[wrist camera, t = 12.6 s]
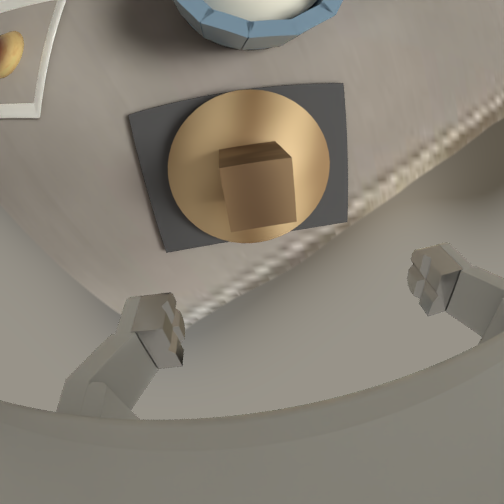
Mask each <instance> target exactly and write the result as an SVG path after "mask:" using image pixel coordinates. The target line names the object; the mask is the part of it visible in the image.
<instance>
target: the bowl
mask: <svg viewBox="0 0 504 504" xmlns="http://www.w3.org/2000/svg"><path fill="white" fill-rule="evenodd" d="M173 1H174V3H175V5H176V7H177V8H178V10H179V12H180V14H181V15H182V16H183V17H184V18H185V19H186V20H187V22H188V23H189V24H190V25H191V27H192V28H193V29H194V30H195V31H197V32H198V33H199V34H200V35H201V36H202V37H203V38H205V39H208V40H210V41H212V42H213V43H216V44H219V45H221V46H224V47H228V48H232V49H238V50H262V49H268V48H272V47H280V46H282V45H283V44H285V43H287V42H288V41H290V40H292V39H293V38H295V37H297V36H299V35H300V34H302V33H304V32H306V31H307V30H309V29H311V28H313V27H314V26H316V25H318V24H320V23H322V22H324V21H326V20H327V19H329V18H331V17H333V16H335V15H336V13H337V11H338V9H339V7H340V5H341V3H342V1H343V0H173Z"/></svg>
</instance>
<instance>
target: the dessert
mask: <svg viewBox="0 0 504 504" xmlns="http://www.w3.org/2000/svg"><path fill="white" fill-rule="evenodd" d="M47 1H52V0H0V13H2V12H6V11H9V10H13V9H16V8H20V7H24V6H28V5H32V4H37V3H42V2H47ZM65 2H66V0H57V4H56V6H55V10H54V13H53V16H52V19H51V22H50V26H49V29H48V33H47V37H46V41H45V45H44V49H43V53H42V58H41V63H40V68H39V73H38V79H37V85H36V92H35V99H34V103H19V104H0V119H1V118H40V114H41V105H42V98H43V91H44V84H45V79H46V73H47V68H48V63H49V58H50V54H51V50H52V45H53V41H54V38H55V34H56V30H57V27H58V23H59V20H60V17H61V14H62V11H63V8H64V5H65ZM23 47H24V42H23V37H22V35H21V34H20V33H19V32H17V31H11V32H8V33H5V34H2V35H0V78H4V77H6V76H8V75H9V74H10V73H12V71H13V70H14V69H15V68H16V66H17V65H18V63H19V61H20V59H21V56H22V53H23Z"/></svg>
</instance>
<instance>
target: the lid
mask: <svg viewBox="0 0 504 504" xmlns="http://www.w3.org/2000/svg"><path fill="white" fill-rule="evenodd" d="M329 168H330V160H329V151H328V147H327V143H326V140H325V138H324V135H323V133H322V131H321V129H320V127H319V126H318V124H317V123H316V121H315V120H314V119H313V118H312V116H311V115H310V114H309V113H308V112H307V111H306V110H305V109H304V108H302V107H301V106H300V105H298V104H297V103H295V102H294V101H292V100H290V99H288V98H286V97H285V96H282V95H279V94H276V93H273V92H269V91H264V90H252V89H249V90H237V91H232V92H228V93H225V94H222V95H219V96H216V97H214V98H213V99H211V100H209V101H207V102H205V103H204V104H203V105H201V106H200V107H198V108H197V109H196V110H195V111H194V112H193V113H192V114H191V115H190V116H189V117H188V118H187V119H186V120H185V122H184V123H183V124H182V125H181V127H180V129H179V130H178V132H177V134H176V136H175V138H174V140H173V143H172V145H171V149H170V153H169V159H168V179H169V184H170V188H171V191H172V194H173V197H174V199H175V201H176V203H177V205H178V206H179V208H180V209H181V211H182V212H183V214H184V215H185V216H186V217H187V218H188V219H189V220H190V221H191V222H192V223H193V224H194V225H195V226H196V227H198V228H199V229H201V230H202V231H204V232H206V233H208V234H209V235H211V236H214V237H216V238H219V239H222V240H226V241H230V242H237V243H255V242H262V241H267V240H271V239H274V238H277V237H279V236H281V235H284V234H286V233H288V232H289V231H291V230H293V229H294V228H296V227H297V226H298V225H300V224H301V223H302V222H303V221H304V220H305V219H306V218H307V217H308V216H309V215H310V214H311V213H312V212H313V210H314V209H315V208H316V206H317V205H318V203H319V202H320V200H321V198H322V196H323V194H324V191H325V189H326V185H327V182H328V177H329Z"/></svg>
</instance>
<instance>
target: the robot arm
mask: <svg viewBox="0 0 504 504" xmlns="http://www.w3.org/2000/svg"><path fill="white" fill-rule="evenodd" d="M411 261H412V263H413V265H412V266H411V268H410V269H409V271H408V276H407V281H408V286H409V289H410V291H411V292H412V294H413V295H414V296H416V297H418V298H420V302H419V304H420V306H421V307H422V308H423V310H424V311H425V313H426V314H427V316H431V315H434V314H437V313H440V312H443V311H446V312H447V313H448V314H450V315H451V316H453V317H454V318H455V319H457V320H458V321H460V322H461V323H463V324H464V325H466V326H467V327H468V328H470V329H471V330H473V331H474V332H476V333H477V334H479V335H480V336H481V337H482V339H481V340H480V342H479V344H478V345H477V346H475V347H473V348H471V349H469V350H467V351H465V352H462V353H461V354H459V355H456V356H454V357H452V358H450V359H447V360H445V361H443V362H440V363H438V364H435V365H433V366H431V367H428V368H426V369H423V370H421V371H418V372H415V373H413V374H410V375H407V376H405V377H402V378H399V379H396V380H393V381H390V382H387V383H384V384H381V385H378V386H375V387H371V388H368V389H365V390H361V391H358V392H354V393H351V394H347V395H343V396H339V397H335V398H331V399H328V400H323V401H319V402H314V403H309V404H305V405H300V406H295V407H289V408H284V409H278V410H272V411H265V412H259V413H251V414H243V415H234V416H225V417H213V418H199V419H179V420H178V419H175V420H140V419H139V418H138V417H137V416H136V415H135V414H134V413H133V412H132V411H131V410H132V408H133V406H134V405H135V404H136V402H137V401H138V399H139V398H140V396H141V395H142V393H143V392H144V390H145V389H146V388H147V386H148V385H149V383H150V382H151V380H152V379H153V377H154V376H155V374H156V373H157V371H158V369H161V368H172V367H181V366H183V355H184V349H183V347H182V345H181V343H182V342H183V341H184V339H185V325H184V320H183V317H182V314H181V312H180V311H179V310H177V309H176V299H175V297H174V295H173V294H172V293H171V292H170V293H161V294H153V295H144V296H137V297H129V298H128V299H127V300H126V302H125V305H124V308H123V311H122V314H121V317H120V320H119V324H118V327H117V330H116V333H115V334H111V335H110V336H109V337H108V338H107V339H106V340H105V341H104V342H103V343H102V344H101V345H100V346H99V347H98V348H97V349H96V350H95V351H94V352H93V353H92V354H91V355H90V356H89V357H88V358H87V359H86V360H85V361H84V362H83V363H82V364H81V365H80V366H79V367H78V368H77V369H76V370H75V371H74V372H73V373H72V374H71V375H70V376H69V377H68V378H67V379H66V380H65V383H64V387H63V390H62V393H61V397H60V401H59V404H58V407H57V411H56V412H53V411H47V410H41V409H36V408H31V407H26V406H21V405H17V404H12V403H9V402H5V401H1V400H0V504H504V278H502V277H500V276H498V275H495V274H493V273H491V272H489V271H487V270H484V269H482V268H480V267H477V266H474V267H473V266H472V265H471V264H470V263H469V262H468V261H467V260H466V259H465V258H464V257H463V256H462V255H461V254H460V253H459V252H458V251H457V250H456V249H455V248H454V247H453V246H452V245H451V244H450V243H447V242H445V243H441V244H437V245H435V246H430V247H425V248H421V249H417V250H414V252H413V253H412V257H411Z"/></svg>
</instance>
